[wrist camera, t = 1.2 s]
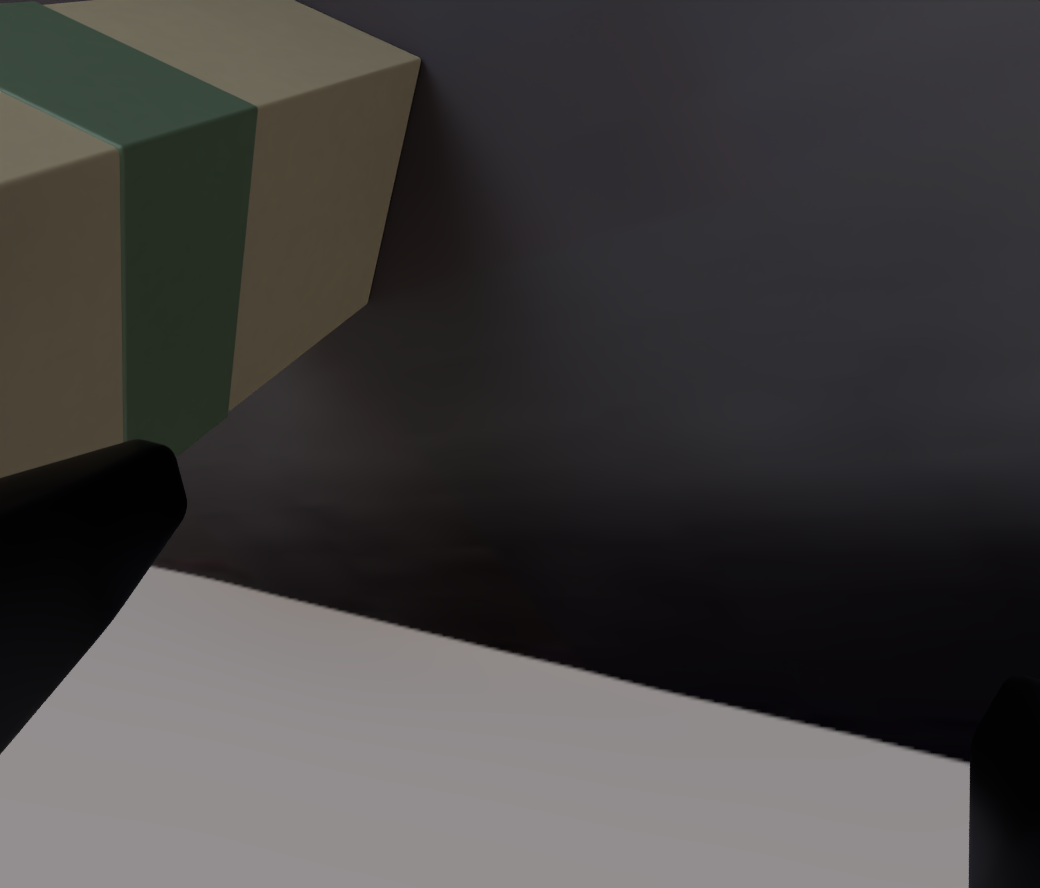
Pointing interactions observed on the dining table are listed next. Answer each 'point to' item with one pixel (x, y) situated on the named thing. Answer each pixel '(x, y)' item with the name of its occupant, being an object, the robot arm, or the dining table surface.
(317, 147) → the tea box
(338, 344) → the dining table surface
